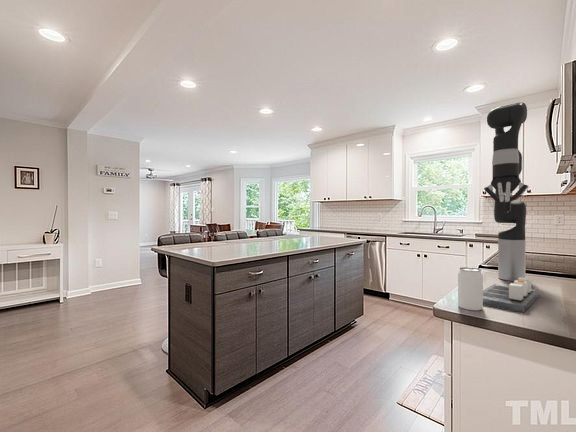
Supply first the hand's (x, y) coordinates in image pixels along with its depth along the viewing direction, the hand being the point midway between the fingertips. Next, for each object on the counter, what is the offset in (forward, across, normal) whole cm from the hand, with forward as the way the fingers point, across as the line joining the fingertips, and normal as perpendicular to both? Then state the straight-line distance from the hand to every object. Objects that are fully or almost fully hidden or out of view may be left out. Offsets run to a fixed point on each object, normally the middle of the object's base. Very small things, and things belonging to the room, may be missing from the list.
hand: (505, 212), depth 103 cm
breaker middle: (+27, -6, +7) cm, 28 cm away
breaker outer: (+27, -6, +13) cm, 30 cm away
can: (+29, +4, +25) cm, 39 cm away
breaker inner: (+27, -6, +1) cm, 27 cm away
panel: (+29, -2, +7) cm, 30 cm away
